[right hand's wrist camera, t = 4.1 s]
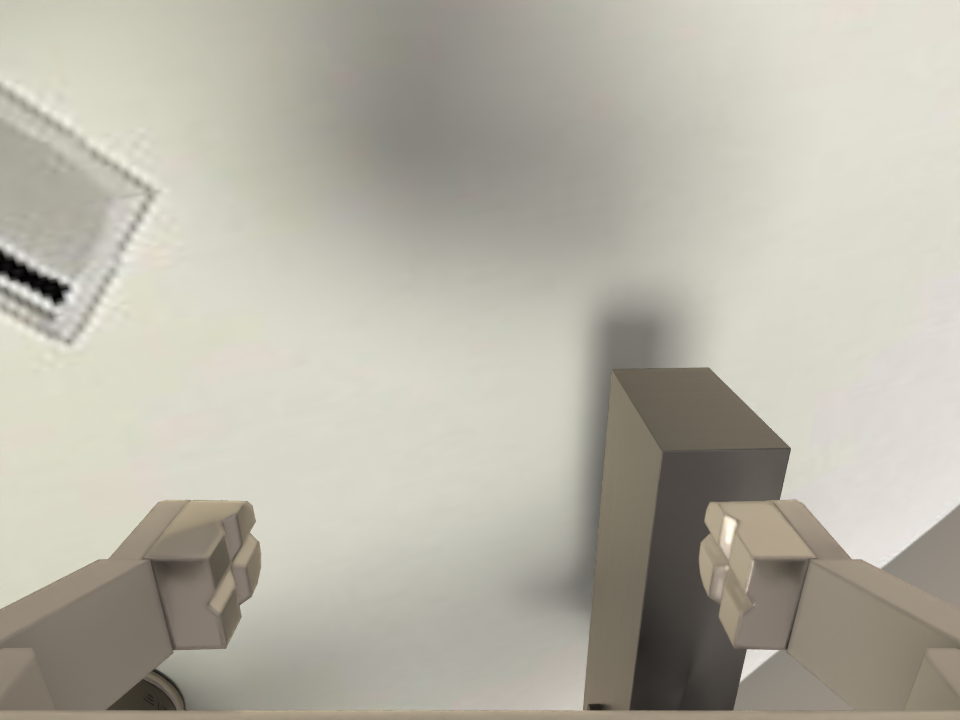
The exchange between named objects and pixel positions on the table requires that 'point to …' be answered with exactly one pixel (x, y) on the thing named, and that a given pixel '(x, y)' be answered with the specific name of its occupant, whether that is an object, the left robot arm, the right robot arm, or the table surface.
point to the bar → (670, 538)
